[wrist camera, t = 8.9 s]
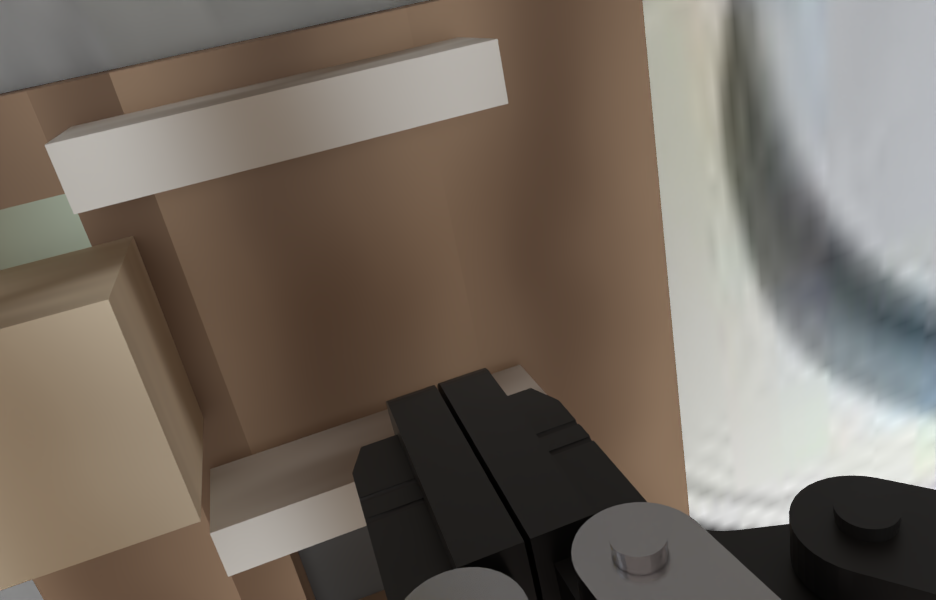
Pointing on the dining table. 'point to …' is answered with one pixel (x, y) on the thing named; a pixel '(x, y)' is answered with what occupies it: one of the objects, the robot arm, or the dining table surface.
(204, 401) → the channel deck
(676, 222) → the dining table surface
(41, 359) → the birch block
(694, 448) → the dining table surface
